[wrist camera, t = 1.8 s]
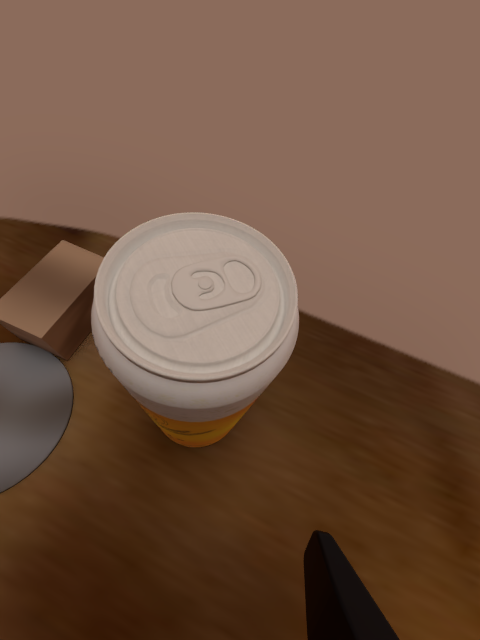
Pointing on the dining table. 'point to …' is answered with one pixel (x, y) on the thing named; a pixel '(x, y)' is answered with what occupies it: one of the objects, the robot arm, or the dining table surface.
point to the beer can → (195, 320)
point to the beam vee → (42, 356)
